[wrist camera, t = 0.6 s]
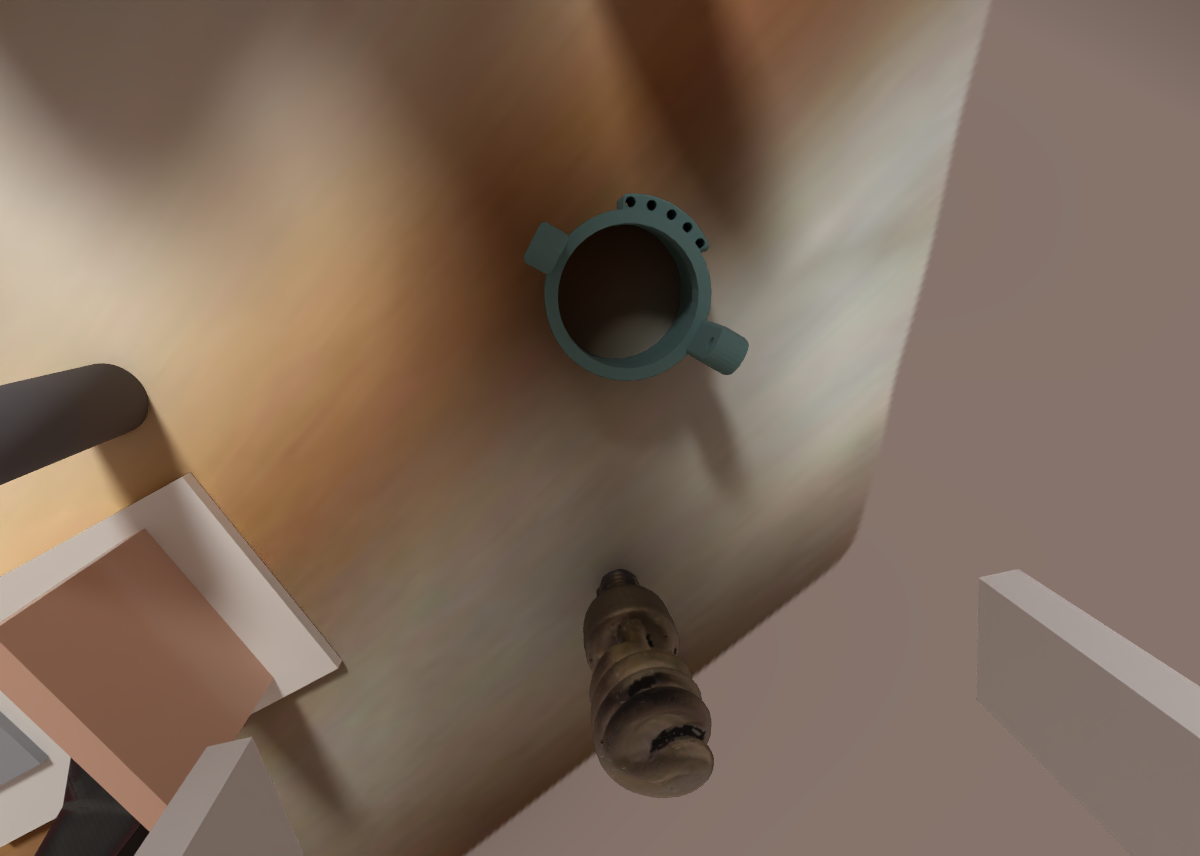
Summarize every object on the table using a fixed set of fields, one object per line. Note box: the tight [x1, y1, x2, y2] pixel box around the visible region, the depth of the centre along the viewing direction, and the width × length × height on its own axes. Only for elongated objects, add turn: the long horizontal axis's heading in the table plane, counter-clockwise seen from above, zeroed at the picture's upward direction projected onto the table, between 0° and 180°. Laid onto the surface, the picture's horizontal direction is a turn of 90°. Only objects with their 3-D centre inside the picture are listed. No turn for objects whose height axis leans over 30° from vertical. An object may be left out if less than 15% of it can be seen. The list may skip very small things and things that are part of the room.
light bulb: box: [583, 569, 714, 798], centre depth 32 cm, size 6×6×15 cm
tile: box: [0, 528, 274, 832], centre depth 31 cm, size 12×2×10 cm, turn 28°
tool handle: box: [0, 364, 148, 485], centre depth 27 cm, size 4×4×12 cm
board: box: [0, 472, 342, 847], centre depth 36 cm, size 15×26×1 cm, turn 118°
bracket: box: [524, 193, 749, 381], centre depth 30 cm, size 9×9×9 cm
